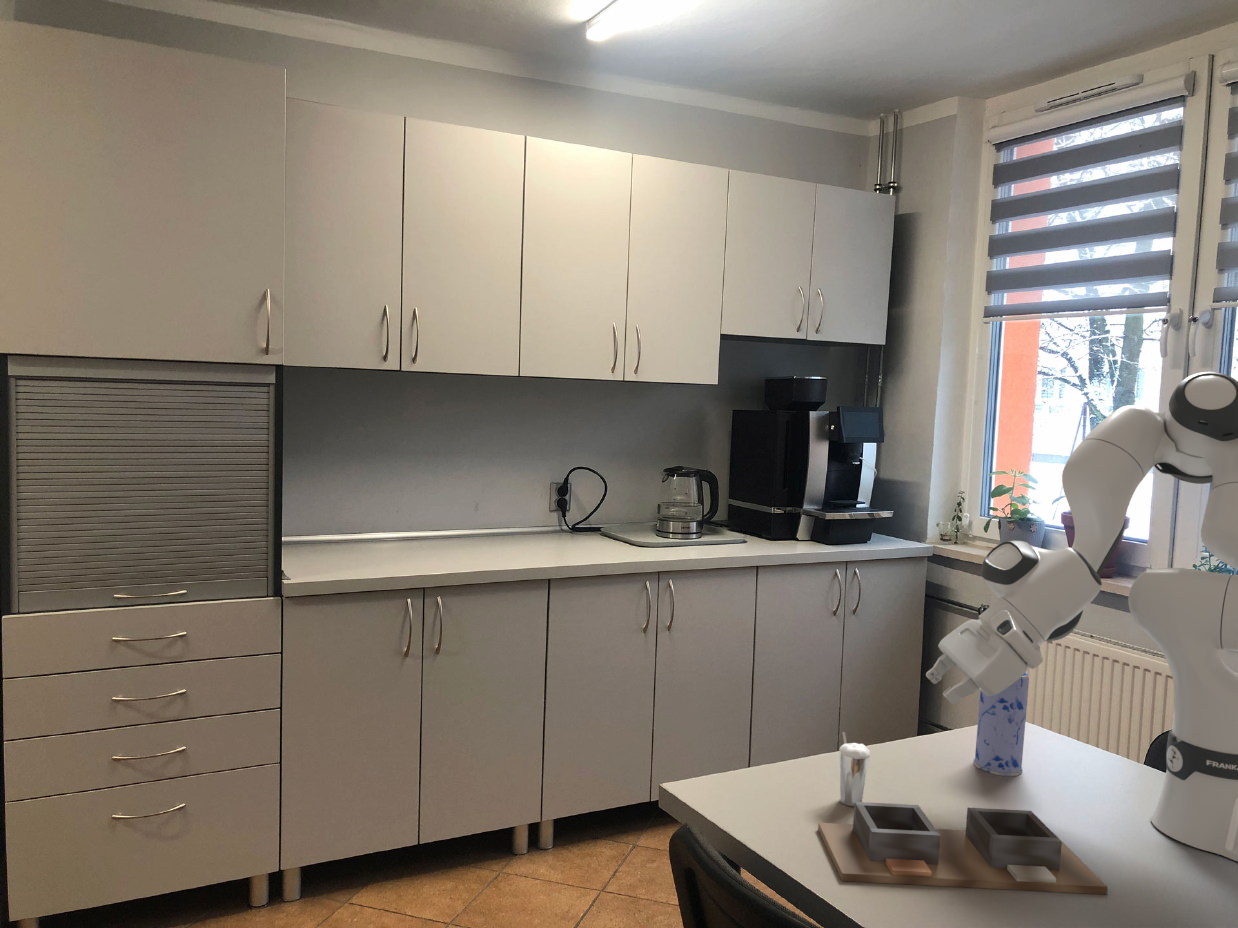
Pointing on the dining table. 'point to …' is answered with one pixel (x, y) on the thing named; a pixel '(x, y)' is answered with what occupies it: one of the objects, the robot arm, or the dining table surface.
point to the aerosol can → (1002, 729)
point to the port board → (955, 851)
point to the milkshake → (852, 771)
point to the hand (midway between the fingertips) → (937, 688)
